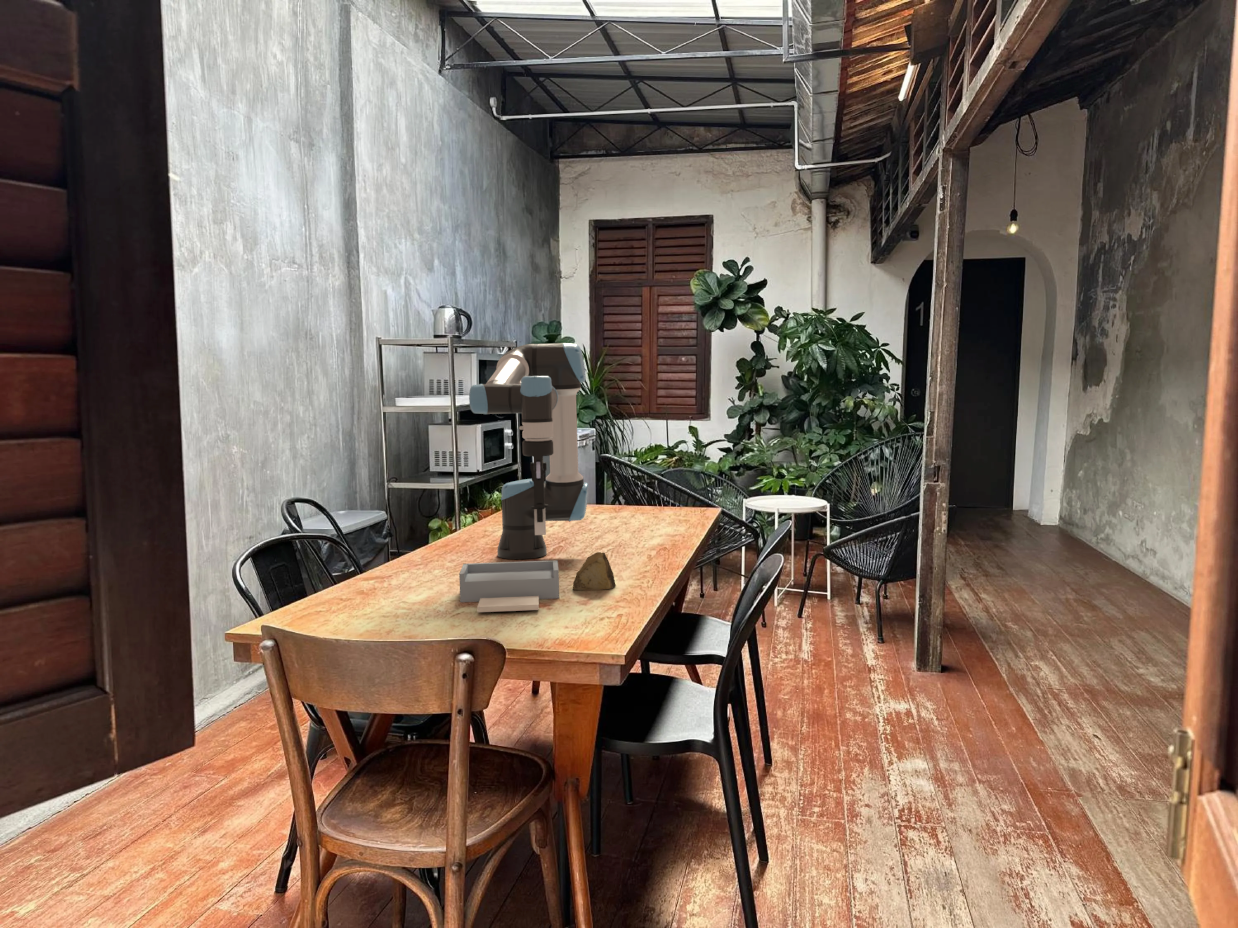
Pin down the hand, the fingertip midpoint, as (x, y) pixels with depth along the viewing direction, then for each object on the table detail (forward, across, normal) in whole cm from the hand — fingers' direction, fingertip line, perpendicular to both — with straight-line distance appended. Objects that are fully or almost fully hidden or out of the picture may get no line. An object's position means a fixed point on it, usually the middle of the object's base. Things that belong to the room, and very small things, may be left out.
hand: (540, 534), depth 209 cm
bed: (+16, -2, -8) cm, 18 cm away
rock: (+16, -6, +13) cm, 21 cm away
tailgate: (+15, +5, -8) cm, 18 cm away
